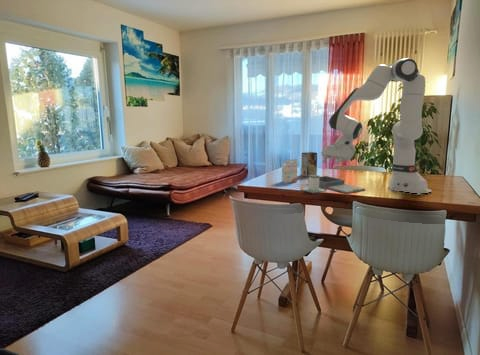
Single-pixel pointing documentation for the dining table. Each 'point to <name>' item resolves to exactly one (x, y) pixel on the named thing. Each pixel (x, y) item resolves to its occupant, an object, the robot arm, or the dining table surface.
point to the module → (313, 182)
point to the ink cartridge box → (289, 171)
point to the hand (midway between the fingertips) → (329, 163)
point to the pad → (312, 190)
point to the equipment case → (337, 185)
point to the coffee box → (309, 164)
